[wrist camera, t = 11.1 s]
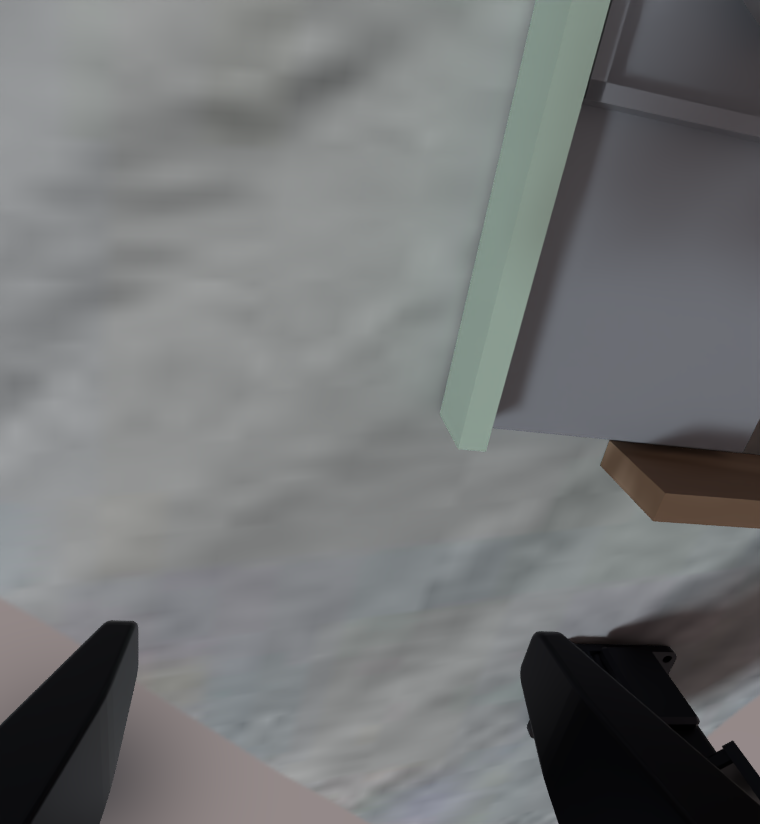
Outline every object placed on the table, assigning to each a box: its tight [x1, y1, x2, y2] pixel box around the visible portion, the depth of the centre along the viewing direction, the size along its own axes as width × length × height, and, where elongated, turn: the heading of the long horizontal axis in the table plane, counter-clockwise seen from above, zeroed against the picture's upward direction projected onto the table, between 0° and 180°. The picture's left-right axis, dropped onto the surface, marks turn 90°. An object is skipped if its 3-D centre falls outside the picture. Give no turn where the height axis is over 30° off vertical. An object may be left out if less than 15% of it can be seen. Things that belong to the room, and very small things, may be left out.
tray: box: [440, 0, 760, 453], centre depth 17 cm, size 22×13×3 cm, turn 170°
